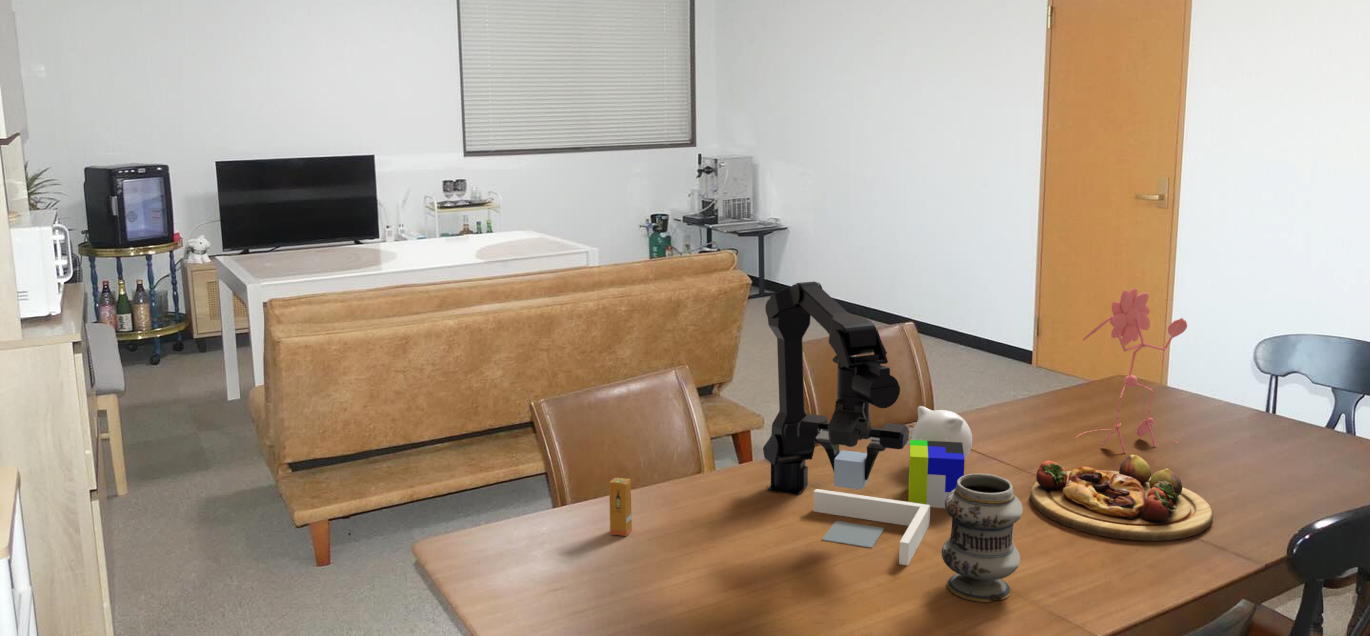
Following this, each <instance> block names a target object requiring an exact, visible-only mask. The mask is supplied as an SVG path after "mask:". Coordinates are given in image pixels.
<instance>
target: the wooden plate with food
mask: <svg viewBox="0 0 1370 636" xmlns="http://www.w3.org/2000/svg"><path fill="white" fill-rule="evenodd" d="M1119 466H1120V467H1119V468H1118V471H1117V470H1116V471H1115V470H1100V469H1095V468H1094V467H1089V466H1079V467H1077V468H1073V469H1071V470H1068V471H1067V470H1066V469H1065V468H1064V467H1063V466H1062V465H1061V464H1059V463H1057V462H1055V461H1052V460H1046V461H1043V462H1042V463H1040V465H1039V467H1038V468H1037V470H1036V477H1035V478H1036V481H1035V483H1034V484H1033V485H1032V486H1031V489H1030V495H1029V496H1030V500H1031V501H1032V503H1033V505H1034V507H1035V508H1036V509H1037V510H1038V511H1039V512H1041V513H1042V514H1043V515H1045V516H1046V517H1048V518H1049V519H1051V520H1053V521H1055V522H1057V523H1059V524H1061V525H1063V526H1066V527H1069V528H1072V529H1075V530H1078V531H1080V532H1081V531H1082V532H1084V533H1089V534H1093V535H1097V536H1100V537H1101V536H1102V537H1107V538H1114V539H1118V540H1119V539H1120V540H1121V539H1122V540H1127V541H1128V540H1129V541H1141V542H1142V541H1147V542H1148V541H1149V542H1150V541H1151V542H1154V541H1156V542H1158V541H1160V542H1161V541H1172V540H1173V541H1174V540H1178V539H1179V540H1180V539H1184V538H1185V539H1186V538H1188V537H1192V536H1196V535H1198V534H1200V533H1202V532H1203V531H1205V530H1206V529H1207V528H1209V527H1210V526H1211V524H1212V522H1213V518H1214V512H1213V510H1212V507H1211V505H1210V504H1209V503H1208V502H1207V501H1206V500H1205V499H1204V498H1203V497H1202V496H1200V495H1199V494H1198V493H1195V492H1194V491H1192V490H1190V489H1188V488H1185V487H1183V484H1182V481H1181V478H1180V477H1179V476H1178V475H1177V473H1175V472H1173V471H1172V470H1171V469H1170V468H1167V467H1166V468H1163V469H1161V470H1157V471H1156V472H1154V473H1153V474H1152V470H1151V467H1150V465H1149V464H1148V462H1147V461H1146V460H1145V459H1143V458H1142V457H1141V456H1139V455H1137V454H1130V455H1129V456H1127V457H1126V458H1125V459H1123V460H1122V462H1121V463H1120V465H1119Z"/></svg>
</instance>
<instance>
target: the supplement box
mask: <svg viewBox="0 0 1370 636" xmlns="http://www.w3.org/2000/svg"><path fill="white" fill-rule="evenodd" d="M631 481H632V480H631V478H623V477H614V478H612V479H611V480H610V481H609V483H608V487H609V494H608V495H609V534H610V535H611V536H623V537H627V536H628V535H630V533H631V532H633V519H632V516H633V515H632V513H633V512H632V486H631V483H632V482H631Z"/></svg>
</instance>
